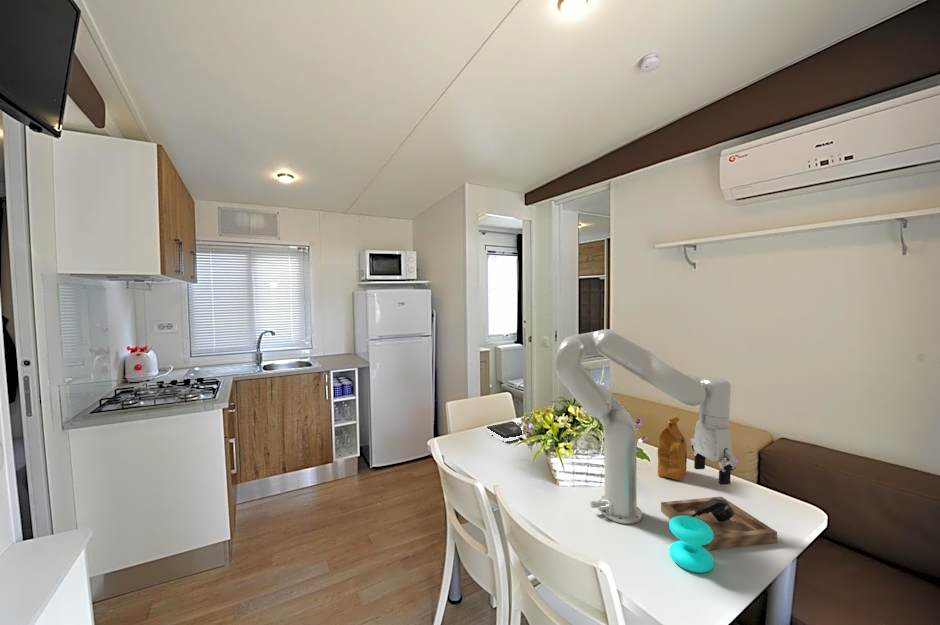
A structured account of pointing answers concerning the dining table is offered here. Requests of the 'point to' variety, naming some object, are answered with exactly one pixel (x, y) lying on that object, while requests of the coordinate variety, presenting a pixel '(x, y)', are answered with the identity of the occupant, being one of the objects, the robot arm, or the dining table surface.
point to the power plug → (716, 510)
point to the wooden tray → (724, 524)
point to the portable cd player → (506, 429)
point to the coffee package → (672, 451)
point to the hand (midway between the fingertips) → (711, 476)
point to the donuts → (691, 543)
